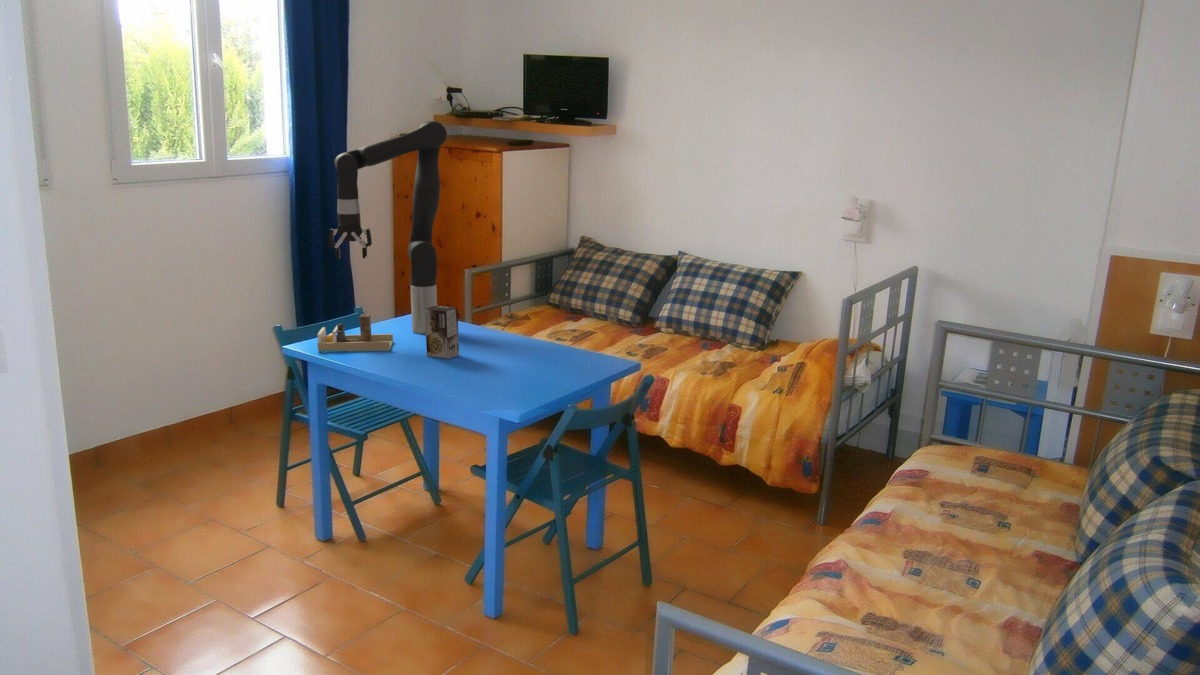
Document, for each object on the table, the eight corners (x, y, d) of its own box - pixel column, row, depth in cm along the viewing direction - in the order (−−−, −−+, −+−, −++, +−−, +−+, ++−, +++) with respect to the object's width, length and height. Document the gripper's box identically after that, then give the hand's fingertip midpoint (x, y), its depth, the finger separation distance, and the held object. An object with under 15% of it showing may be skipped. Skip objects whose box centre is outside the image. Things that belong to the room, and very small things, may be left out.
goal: (341, 341, 323) (340, 324, 322) (336, 348, 314) (335, 331, 312) (323, 341, 323) (322, 325, 321) (318, 348, 313) (317, 331, 312)
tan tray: (393, 342, 326) (392, 333, 325) (389, 350, 315) (389, 341, 314) (323, 343, 323) (323, 335, 323) (318, 352, 312) (317, 343, 312)
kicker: (371, 340, 322) (370, 313, 320) (369, 344, 317) (368, 317, 314) (339, 341, 321) (338, 314, 319) (337, 345, 315) (335, 317, 313)
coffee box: (459, 355, 310) (458, 307, 306) (448, 359, 304) (446, 310, 301) (437, 351, 314) (435, 304, 310) (425, 356, 308) (423, 308, 305)
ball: (332, 329, 319) (324, 338, 319) (330, 332, 315) (322, 341, 315) (341, 336, 320) (334, 345, 320) (339, 339, 316) (332, 348, 316)
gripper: (371, 210, 328) (373, 256, 332) (329, 211, 327) (332, 257, 331) (368, 213, 321) (371, 259, 325) (325, 213, 319) (328, 260, 323)
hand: (351, 258), depth 328 cm, fingers open, 8 cm apart
